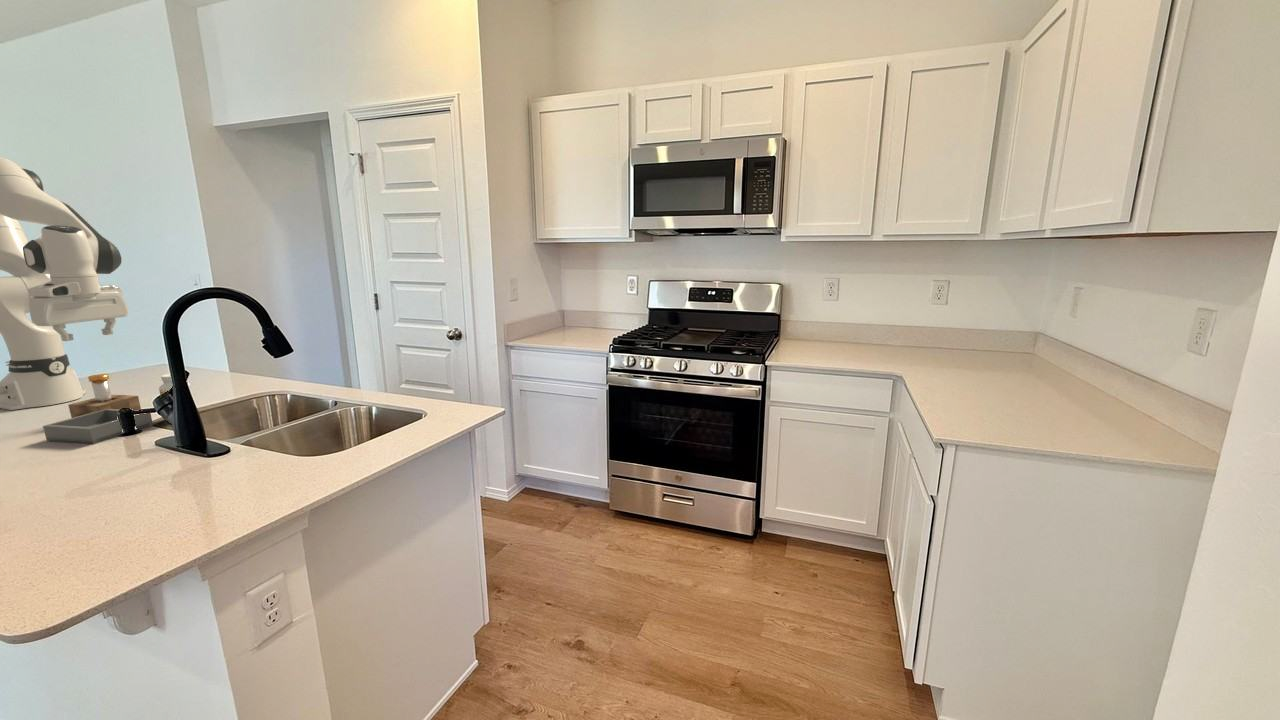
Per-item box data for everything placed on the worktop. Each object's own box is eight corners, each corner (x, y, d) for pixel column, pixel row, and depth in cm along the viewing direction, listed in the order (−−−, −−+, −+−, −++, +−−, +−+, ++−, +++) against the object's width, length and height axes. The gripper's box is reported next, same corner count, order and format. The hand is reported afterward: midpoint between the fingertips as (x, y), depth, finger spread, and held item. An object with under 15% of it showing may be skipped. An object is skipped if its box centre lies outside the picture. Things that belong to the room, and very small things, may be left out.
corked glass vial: (94, 418, 147) (83, 377, 144) (110, 414, 150) (100, 373, 148) (106, 419, 146) (96, 377, 143) (121, 414, 150) (112, 374, 147)
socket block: (72, 421, 144) (68, 404, 143) (112, 410, 154) (109, 394, 153) (102, 423, 143) (98, 406, 142) (141, 412, 152) (138, 395, 151)
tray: (46, 441, 130) (42, 425, 129) (109, 422, 144) (106, 408, 143) (93, 444, 128) (89, 428, 127) (153, 424, 142) (150, 411, 141)
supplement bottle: (170, 416, 149) (161, 373, 146) (199, 413, 151) (191, 370, 149) (161, 423, 143) (152, 378, 140) (191, 420, 145) (183, 376, 143)
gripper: (110, 284, 150) (121, 331, 153) (18, 290, 131) (32, 344, 134) (129, 284, 150) (139, 331, 153) (39, 290, 130) (52, 344, 133)
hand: (88, 337), depth 143 cm, fingers open, 8 cm apart
